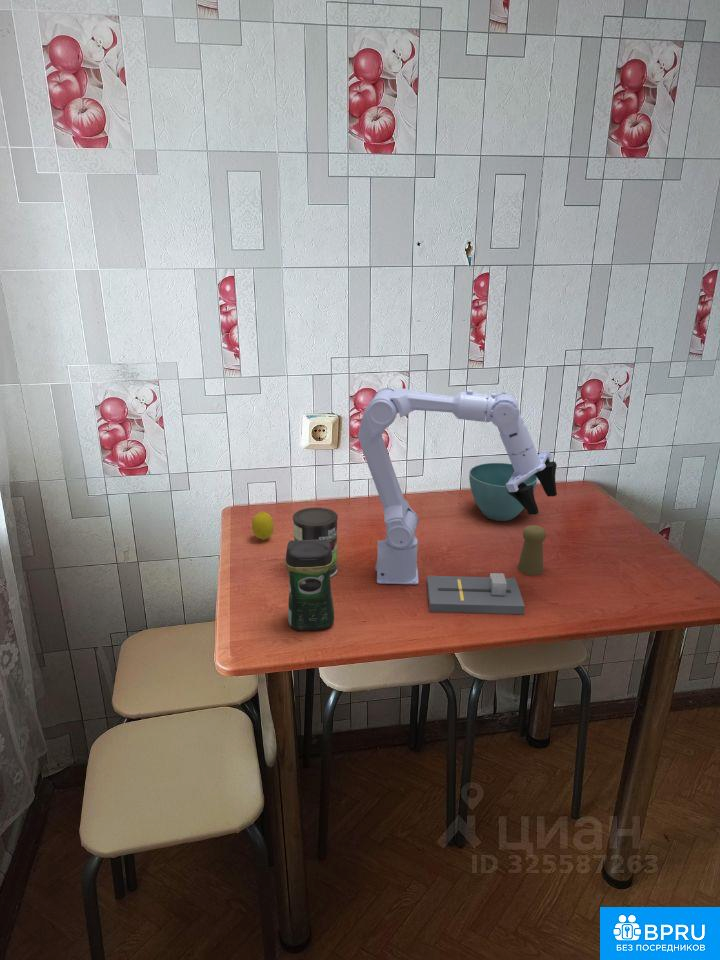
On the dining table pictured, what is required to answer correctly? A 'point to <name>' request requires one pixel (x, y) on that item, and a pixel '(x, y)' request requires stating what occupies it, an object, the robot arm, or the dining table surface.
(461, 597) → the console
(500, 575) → the fader
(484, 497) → the teal bowl
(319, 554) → the coffee jar
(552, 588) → the dining table surface
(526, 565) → the cork
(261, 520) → the lemon
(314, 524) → the coffee can
